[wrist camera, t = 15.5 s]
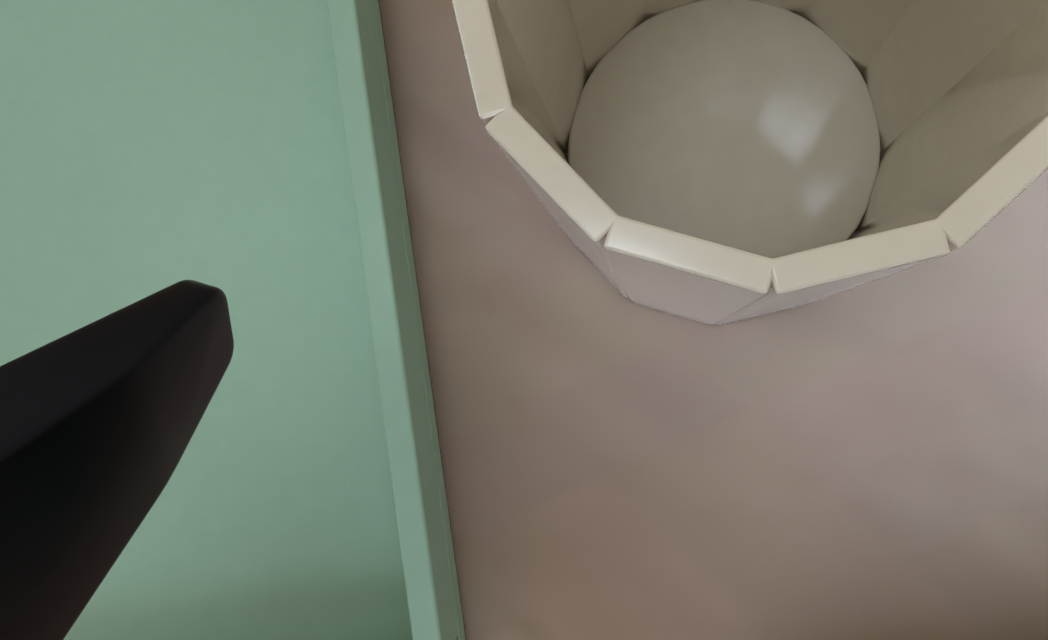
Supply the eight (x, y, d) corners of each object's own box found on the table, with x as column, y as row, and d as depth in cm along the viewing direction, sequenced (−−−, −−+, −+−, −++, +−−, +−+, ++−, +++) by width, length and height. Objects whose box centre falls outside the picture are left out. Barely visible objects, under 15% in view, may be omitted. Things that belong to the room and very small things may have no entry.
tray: (468, 656, 21) (447, 688, 19) (-105, 715, 23) (-181, 751, 21) (354, -178, 22) (323, -233, 20) (-184, -55, 24) (-263, -94, 22)
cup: (966, 155, 20) (1301, -64, 10) (713, 389, 20) (769, 424, 10) (724, -77, 21) (790, -507, 10) (487, 154, 21) (326, -36, 11)
